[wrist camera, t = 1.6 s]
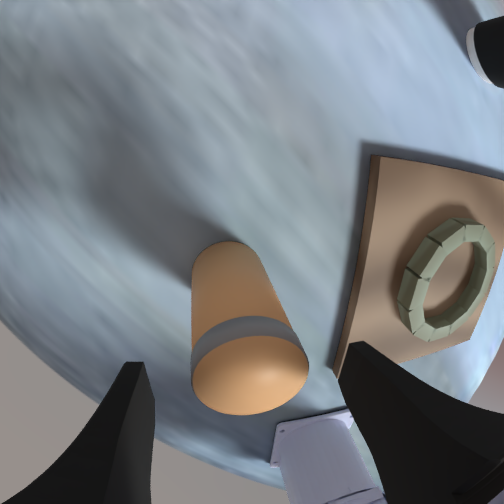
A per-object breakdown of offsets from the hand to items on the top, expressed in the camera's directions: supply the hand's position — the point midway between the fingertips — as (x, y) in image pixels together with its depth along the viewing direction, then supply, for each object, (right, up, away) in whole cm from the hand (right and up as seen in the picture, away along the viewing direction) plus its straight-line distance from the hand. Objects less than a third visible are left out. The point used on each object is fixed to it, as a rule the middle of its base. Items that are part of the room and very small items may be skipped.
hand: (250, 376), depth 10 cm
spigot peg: (-1, +3, +7) cm, 8 cm away
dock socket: (+14, +3, +10) cm, 18 cm away
